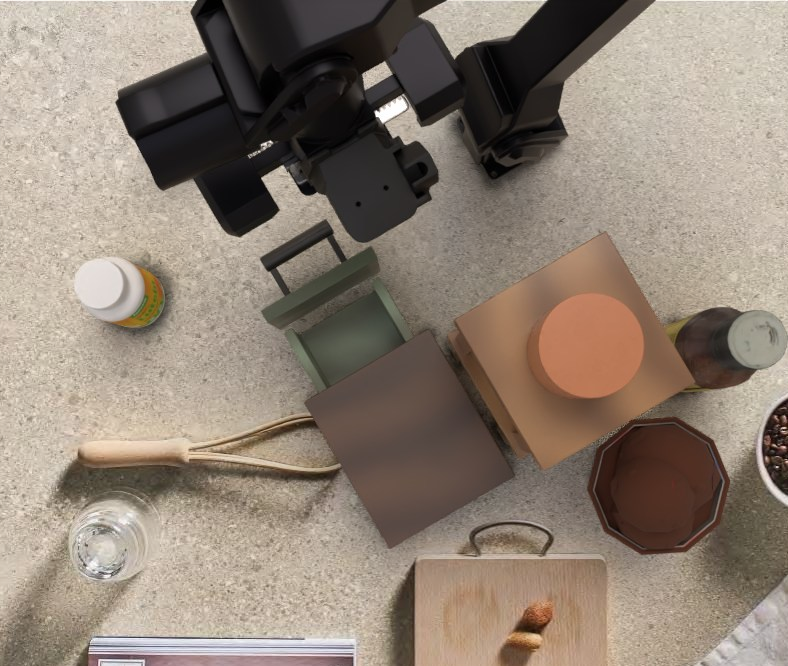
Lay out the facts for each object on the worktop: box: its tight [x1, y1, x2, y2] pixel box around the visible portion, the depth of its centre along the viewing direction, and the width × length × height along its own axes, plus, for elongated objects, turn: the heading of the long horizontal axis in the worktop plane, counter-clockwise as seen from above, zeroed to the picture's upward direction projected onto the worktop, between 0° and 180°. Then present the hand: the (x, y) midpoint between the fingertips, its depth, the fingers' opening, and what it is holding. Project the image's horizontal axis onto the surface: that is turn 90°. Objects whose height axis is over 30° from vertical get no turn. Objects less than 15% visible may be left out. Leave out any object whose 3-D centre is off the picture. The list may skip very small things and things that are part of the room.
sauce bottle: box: [663, 306, 788, 393], centre depth 68 cm, size 7×6×20 cm
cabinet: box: [303, 328, 516, 550], centre depth 74 cm, size 14×12×9 cm
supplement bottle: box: [73, 255, 166, 329], centre depth 74 cm, size 5×5×10 cm
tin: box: [527, 293, 644, 399], centre depth 52 cm, size 6×6×5 cm
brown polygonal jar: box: [586, 416, 731, 556], centre depth 71 cm, size 11×11×15 cm
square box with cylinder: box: [445, 230, 695, 472], centre depth 67 cm, size 11×11×24 cm
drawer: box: [259, 218, 415, 394], centre depth 74 cm, size 17×10×7 cm, turn 30°
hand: (337, 162), depth 67 cm, fingers closed
